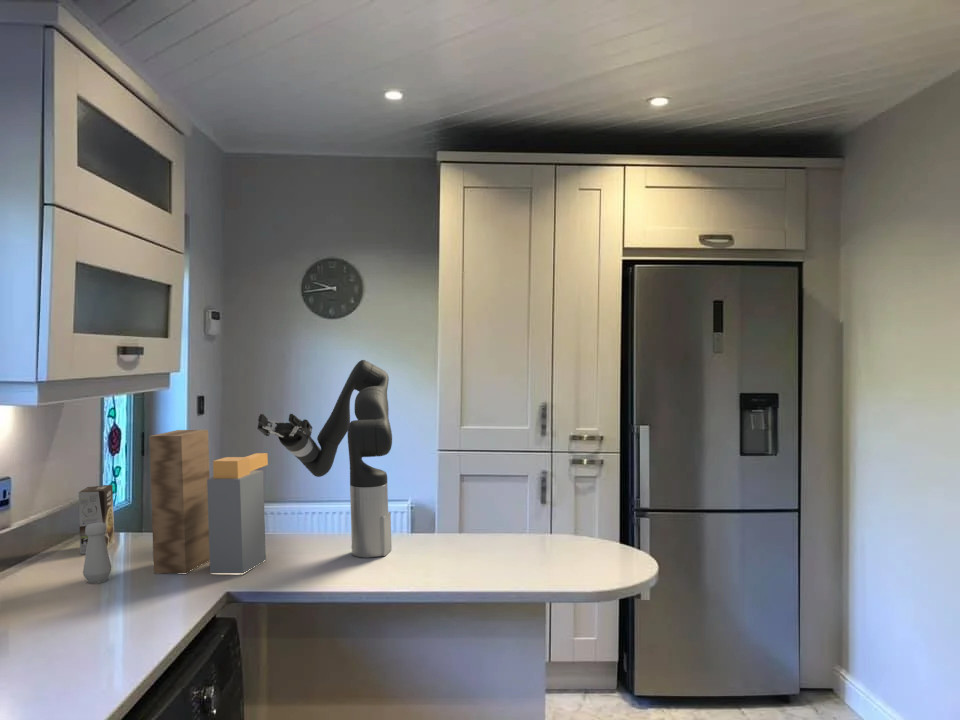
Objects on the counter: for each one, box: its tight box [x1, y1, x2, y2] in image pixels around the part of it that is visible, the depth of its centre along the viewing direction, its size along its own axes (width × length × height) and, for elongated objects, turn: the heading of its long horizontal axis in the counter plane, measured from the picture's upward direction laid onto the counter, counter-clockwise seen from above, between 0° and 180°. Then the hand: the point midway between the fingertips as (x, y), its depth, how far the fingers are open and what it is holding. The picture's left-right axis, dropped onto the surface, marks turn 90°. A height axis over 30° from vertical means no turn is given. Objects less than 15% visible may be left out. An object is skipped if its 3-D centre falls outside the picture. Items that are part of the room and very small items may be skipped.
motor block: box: [207, 469, 267, 574], centre depth 175 cm, size 8×12×22 cm, turn 171°
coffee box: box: [78, 484, 115, 555], centre depth 195 cm, size 9×6×16 cm
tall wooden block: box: [148, 429, 211, 574], centre depth 177 cm, size 8×12×32 cm, turn 171°
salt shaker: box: [82, 523, 112, 584], centre depth 168 cm, size 6×6×13 cm
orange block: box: [212, 452, 269, 479], centre depth 180 cm, size 6×19×4 cm, turn 171°
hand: (275, 417), depth 202 cm, fingers open, 8 cm apart
